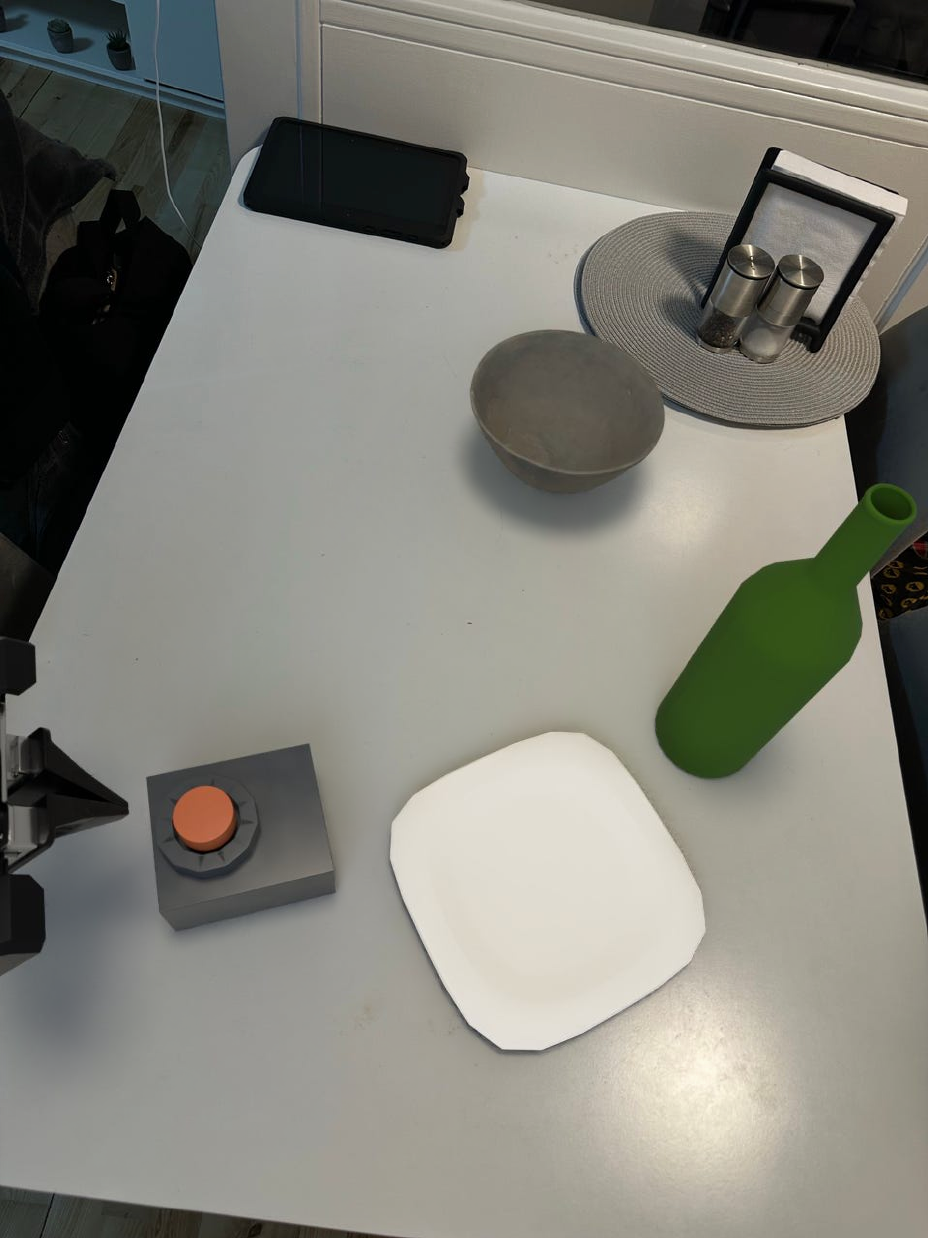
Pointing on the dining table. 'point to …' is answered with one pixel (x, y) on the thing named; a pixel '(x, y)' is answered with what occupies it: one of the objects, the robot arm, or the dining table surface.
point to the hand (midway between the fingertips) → (124, 811)
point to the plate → (545, 889)
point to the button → (204, 818)
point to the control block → (243, 840)
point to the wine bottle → (777, 644)
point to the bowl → (566, 409)
